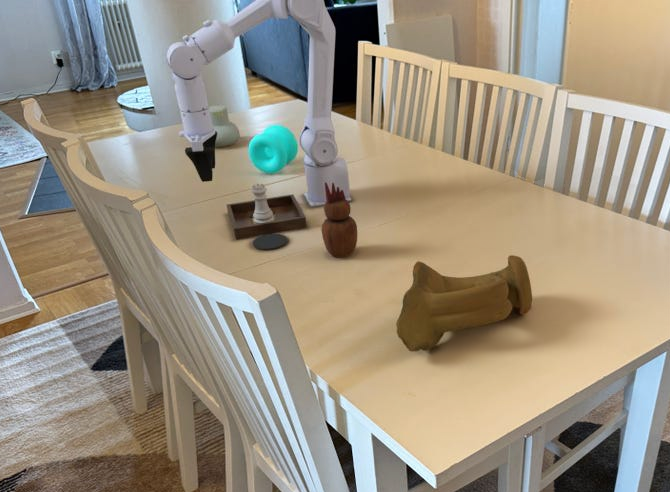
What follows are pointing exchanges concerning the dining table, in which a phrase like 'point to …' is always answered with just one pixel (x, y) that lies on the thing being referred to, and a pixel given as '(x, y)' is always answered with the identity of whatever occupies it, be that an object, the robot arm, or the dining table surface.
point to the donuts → (273, 149)
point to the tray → (285, 214)
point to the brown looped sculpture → (459, 302)
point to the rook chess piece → (261, 205)
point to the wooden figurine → (338, 224)
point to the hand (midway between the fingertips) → (208, 174)
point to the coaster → (270, 241)
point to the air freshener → (223, 127)
